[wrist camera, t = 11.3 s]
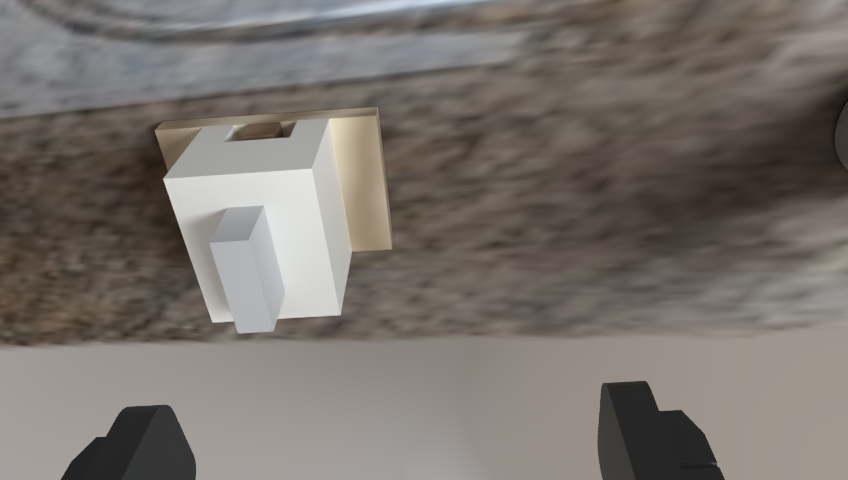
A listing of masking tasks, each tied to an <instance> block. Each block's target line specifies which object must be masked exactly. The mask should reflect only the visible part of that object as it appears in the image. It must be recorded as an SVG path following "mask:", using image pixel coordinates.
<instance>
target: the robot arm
mask: <svg viewBox="0 0 848 480" xmlns="http://www.w3.org/2000/svg"><path fill="white" fill-rule="evenodd" d="M835 149H836V152H837V155H838V157H839V160H840V161H841V162H842V164H843V165H844V166H845V168H846V169H847V170H848V101H847V103H846V104H845V106H844V107H843V110H842V112H841V114H840V117H839V119H838V122H837V126H836V131H835ZM598 456H599V464H600V469H601V474H602V478H603V480H725V479H724V477H723V475H722V472H721V470H720V468H719V467H717V461H716V459H715V457H714V454H713V452H712V450H711V448H710V446H709V443H708V441H707V439H706V437H705V434H704V433H703V432H702V431H701V430H700V429H699V428H698V427H697V426H696V425H695V424H694V423H693V422H692V421H691V420H690V419H689V418H688V417H687V416H686V415H685V414H684V413H683V412H682V410H675V411H659V410H658V407H657V405H656V402H655V399H654V396H653V394H652V391H651V389H650V387H649V385H648V383H647V382H646V381H636V382H617V383H603V385H602V389H601V399H600V413H599V427H598ZM195 477H196V463H195V458H194V455H193V453H192V451H191V448H190V446H189V444H188V442H187V440H186V438H185V435H184V433H183V431H182V429H181V426H180V424H179V422H178V420H177V418H176V415H175V413H174V411H173V410H172V408H171V407H170V406H168V405H153V406H136V407H135V406H134V407H126V408H125V409H123V410H122V411H121V412H120V413H119V415H118V417H117V418H116V420H115V422H114V423H113V425H112V427H111V429H110V431H109V432H108V434H107V436H106V437H96V438H95V439H94V440H93V441H92V442H91V443H90V444H89V445H88V446H87V447H86V448H85V449H84V450H83V451H82V452H81V453H80V454H79V455H78V456H77V457H76V458H75V459H74V460H73V461H72V462H71V463H70V465H69V467H68V468H67V470H66V472H65V473H64V475H63V477H62V478H61V480H195Z"/></svg>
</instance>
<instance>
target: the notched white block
mask: <svg viewBox="0 0 848 480" xmlns="http://www.w3.org/2000/svg"><path fill="white" fill-rule="evenodd" d="M163 180H164V183H165V186H166V189H167V192H168V195H169V198H170V201H171V204H172V207H173V209H174V212H175V215H176V218H177V221H178V224H179V227H180V230H181V233H182V236H183V238H184V241H185V244H186V247H187V250H188V253H189V256H190V259H191V262H192V265H193V267H194V270H195V273H196V276H197V279H198V282H199V285H200V288H201V291H202V294H203V297H204V299H205V302H206V305H207V308H208V311H209V314H210V317H211V320H212V323H214V322H231V321H234V323H235V326H236V329H237V332H238V333H255V332H272V331H274V328H275V325H276V322H277V319H283V318H300V317H317V316H334V315H341V310H342V304H343V298H344V293H345V287H346V282H347V276H348V271H349V265H350V260H351V254H352V248H351V242H350V236H349V230H348V225H347V219H346V213H345V207H344V201H343V195H342V189H341V184H340V178H339V172H338V166H337V160H336V154H335V148H334V143H333V137H332V131H331V125H330V119H329V118H323V119H310V120H297V123H296V125H295V127H294V129H293V131H292V133H291V136H290V137H288V138H274V139H260V140H246V141H238V137H237V134H236V130H235V126H234V125H228V126H214V127H203V128H202V129H201V130H200V132H199V133H198V134H197V136H196V137H195V138H194V139H193V141H192V142H191V143H190V145H189V146H188V147H187V148H186V150H185V151H184V152H183V154H182V155H181V156H180V158H179V159H178V160H177V161H176V163H175V164H174V165H173V167H172V168H171V169H170V170H169V172H168V173H167V174H166V176H165V177H164V178H163Z"/></svg>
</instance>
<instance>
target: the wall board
mask: <svg viewBox="0 0 848 480" xmlns="http://www.w3.org/2000/svg"><path fill="white" fill-rule="evenodd" d="M323 118H329V119H330V125H331V131H332V137H333V143H334V148H335V154H336V160H337V166H338V172H339V178H340V184H341V189H342V195H343V201H344V207H345V213H346V219H347V225H348V230H349V236H350V242H351V248H352V252H356V251H373V250H391V249H392V245H393V233H392V225H391V216H390V208H389V199H388V191H387V182H386V174H385V165H384V157H383V148H382V140H381V131H380V123H379V114H378V107H367V108H352V109H337V110H322V111H307V112H292V113H277V114H263V115H248V116H233V117H218V118H203V119H188V120H173V121H163V122H162V123H161V124H160V125H159V126H158V127H157V128H156V129H155V133H156V136H157V139H158V142H159V145H160V148H161V151H162V154H163V157H164V160H165V164H166V167H167V170H168V172H169V170H170V169H171V168H172V167H173V165H174V164H175V163H176V161H177V160H178V159H179V158H180V156H181V155H182V154H183V152H184V151H185V150H186V148H187V147H188V146H189V145H190V143H191V142H192V141H193V139H194V138H195V137H196V136H197V134H198V133H199V132H200V130H201V129H202V128H203V127H214V126H228V125H234V126H235V130H236V134H237V137H238V141H246V140H260V139H274V138H288V137H290V136H291V133H292V131H293V129H294V127H295V125H296V123H297V120H310V119H323Z"/></svg>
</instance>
